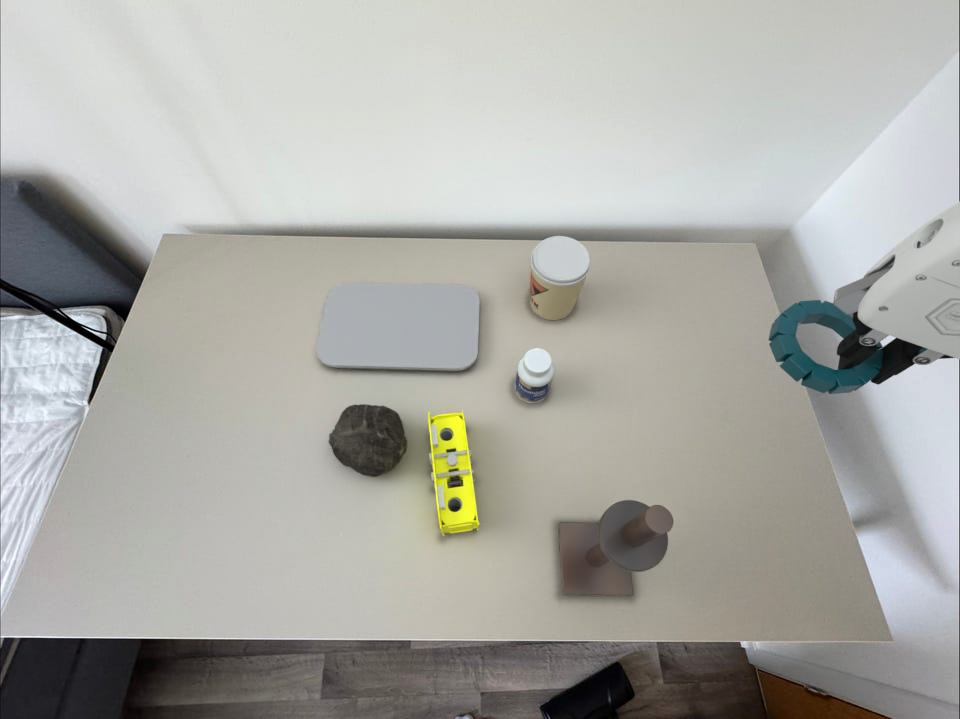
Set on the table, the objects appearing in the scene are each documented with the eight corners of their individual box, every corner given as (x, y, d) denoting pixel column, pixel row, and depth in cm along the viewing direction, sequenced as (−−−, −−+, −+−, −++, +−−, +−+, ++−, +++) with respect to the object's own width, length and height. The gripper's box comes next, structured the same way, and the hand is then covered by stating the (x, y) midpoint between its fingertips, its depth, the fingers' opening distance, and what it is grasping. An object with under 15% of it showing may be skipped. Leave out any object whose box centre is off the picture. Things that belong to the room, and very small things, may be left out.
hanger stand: (622, 524, 70) (701, 468, 45) (631, 595, 65) (723, 576, 41) (558, 523, 70) (601, 467, 45) (562, 594, 65) (613, 575, 41)
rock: (334, 412, 76) (325, 391, 67) (408, 414, 78) (409, 394, 69) (327, 479, 73) (316, 467, 64) (405, 480, 74) (406, 468, 65)
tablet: (477, 375, 81) (477, 369, 79) (316, 371, 81) (312, 364, 79) (480, 293, 88) (480, 285, 86) (333, 289, 89) (330, 281, 87)
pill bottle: (511, 400, 79) (515, 372, 70) (518, 370, 81) (522, 340, 72) (545, 407, 78) (553, 380, 69) (551, 377, 80) (559, 347, 72)
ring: (874, 330, 46) (886, 321, 45) (865, 409, 43) (879, 401, 41) (777, 297, 48) (786, 287, 47) (761, 370, 44) (770, 361, 43)
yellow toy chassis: (428, 429, 76) (423, 407, 69) (465, 424, 77) (464, 402, 69) (439, 538, 69) (435, 527, 61) (480, 531, 69) (481, 520, 62)
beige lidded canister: (522, 281, 89) (528, 235, 79) (574, 279, 90) (587, 232, 79) (527, 325, 85) (534, 283, 74) (582, 323, 85) (596, 280, 75)
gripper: (919, 212, 29) (760, 364, 45) (1258, 312, 25) (955, 436, 42) (925, 134, 32) (775, 302, 48) (1226, 213, 29) (956, 364, 45)
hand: (859, 363), depth 45 cm, fingers closed on ring, 2 cm apart
